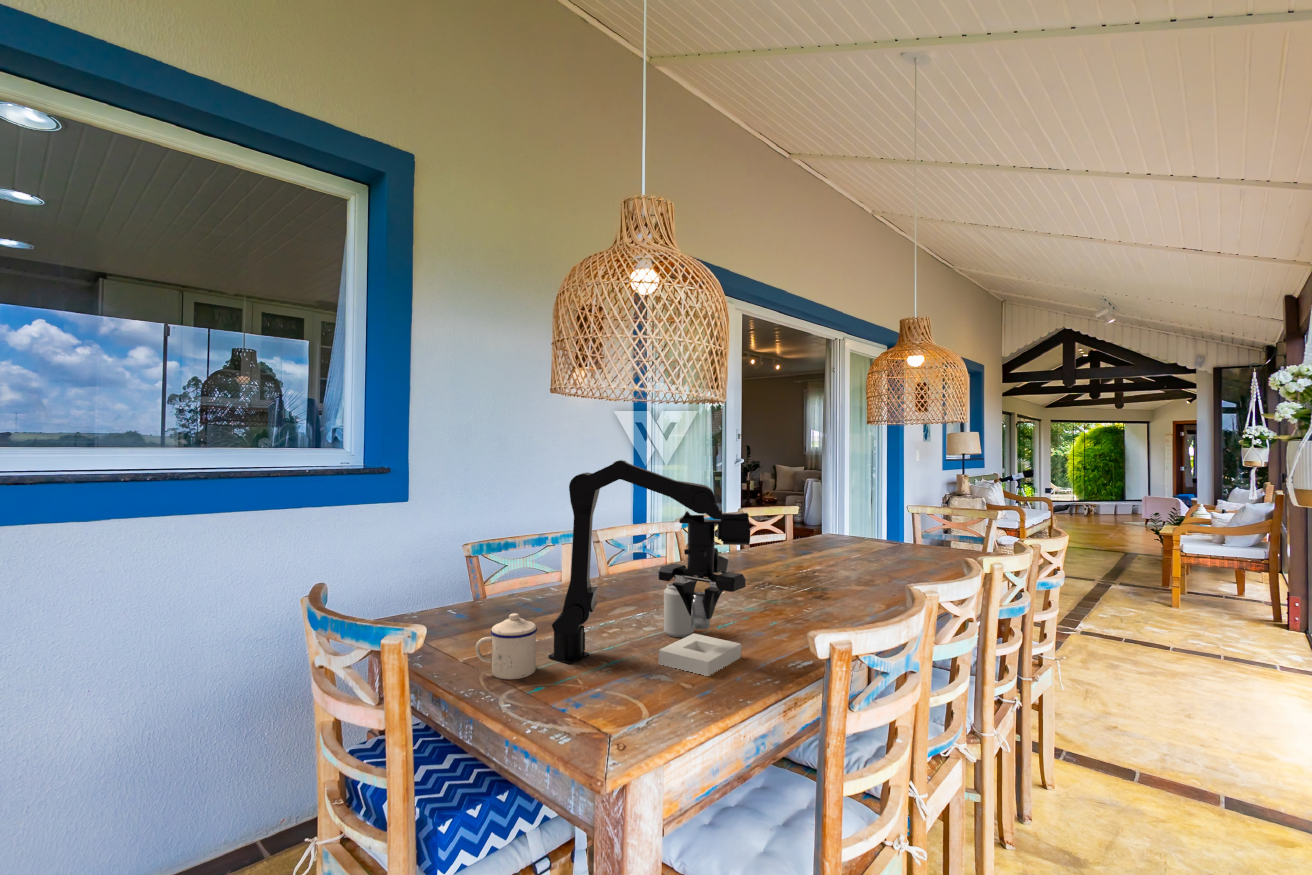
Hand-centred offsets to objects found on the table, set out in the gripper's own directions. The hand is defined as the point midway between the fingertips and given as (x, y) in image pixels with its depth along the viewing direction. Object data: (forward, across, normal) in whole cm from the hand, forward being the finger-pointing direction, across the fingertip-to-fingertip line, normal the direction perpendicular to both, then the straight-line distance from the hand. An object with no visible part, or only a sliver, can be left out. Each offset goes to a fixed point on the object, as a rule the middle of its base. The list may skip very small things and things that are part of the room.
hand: (700, 617), depth 134 cm
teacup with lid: (+10, +28, +29) cm, 41 cm away
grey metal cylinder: (+2, 0, 0) cm, 2 cm away
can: (+10, +14, -13) cm, 21 cm away
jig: (+9, 0, 0) cm, 9 cm away
